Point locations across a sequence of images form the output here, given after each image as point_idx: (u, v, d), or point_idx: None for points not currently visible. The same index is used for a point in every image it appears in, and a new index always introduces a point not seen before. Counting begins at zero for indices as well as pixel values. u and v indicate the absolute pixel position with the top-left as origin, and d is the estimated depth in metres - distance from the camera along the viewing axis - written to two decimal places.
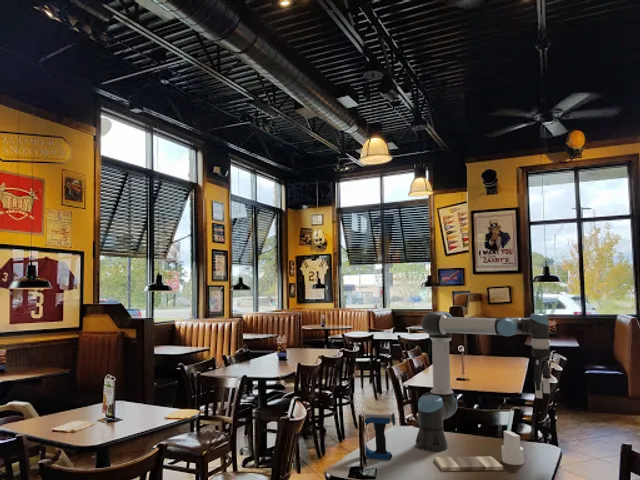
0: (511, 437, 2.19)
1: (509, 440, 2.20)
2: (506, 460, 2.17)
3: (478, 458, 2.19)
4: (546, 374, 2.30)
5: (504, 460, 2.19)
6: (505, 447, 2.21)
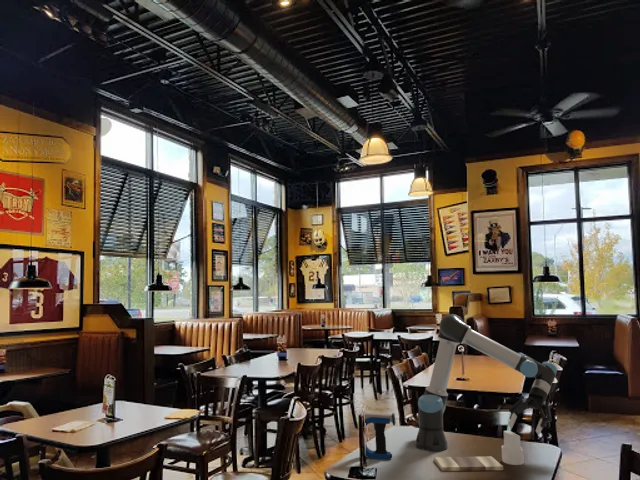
0: (511, 437, 2.19)
1: (509, 440, 2.20)
2: (506, 460, 2.17)
3: (478, 458, 2.19)
4: (519, 412, 2.35)
5: (504, 460, 2.19)
6: (505, 447, 2.21)
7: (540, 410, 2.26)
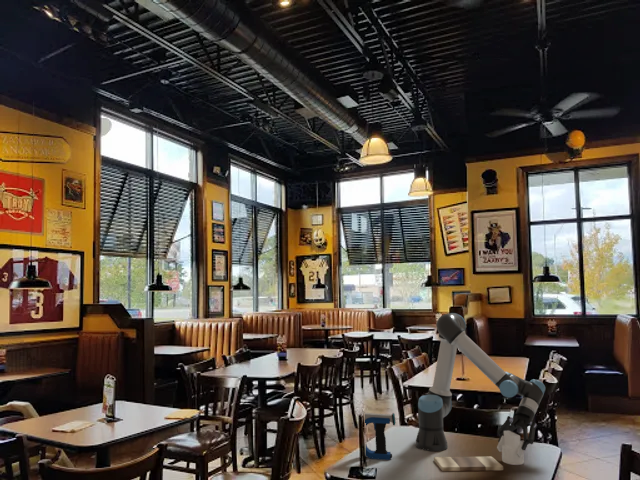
0: (511, 437, 2.19)
1: (509, 440, 2.20)
2: (507, 460, 2.18)
3: (478, 458, 2.19)
4: None
5: (504, 460, 2.19)
6: (505, 447, 2.21)
7: (524, 431, 2.21)
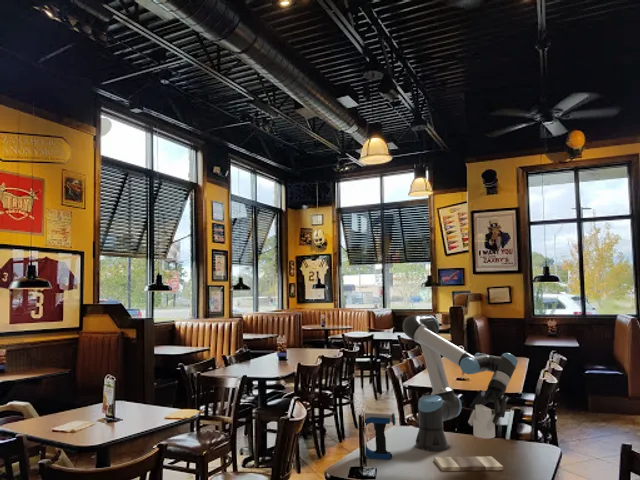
0: (483, 410, 2.15)
1: (481, 414, 2.16)
2: (478, 434, 2.14)
3: (478, 458, 2.19)
4: None
5: (475, 434, 2.15)
6: (476, 421, 2.17)
7: (495, 404, 2.17)
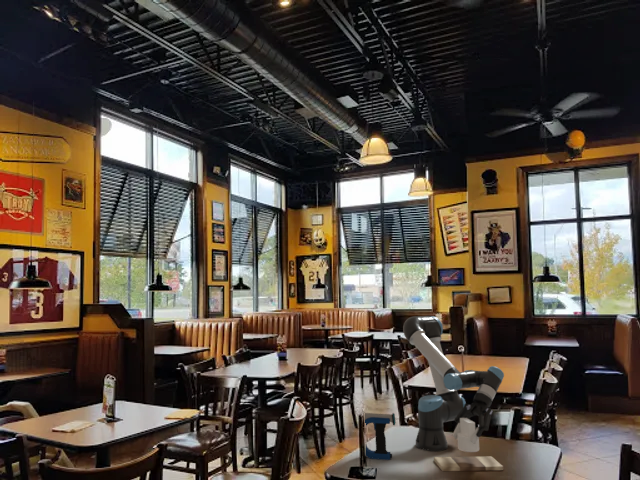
0: (466, 423, 2.14)
1: (465, 427, 2.15)
2: (461, 447, 2.13)
3: (478, 458, 2.19)
4: None
5: (459, 447, 2.14)
6: (460, 434, 2.16)
7: (479, 418, 2.16)
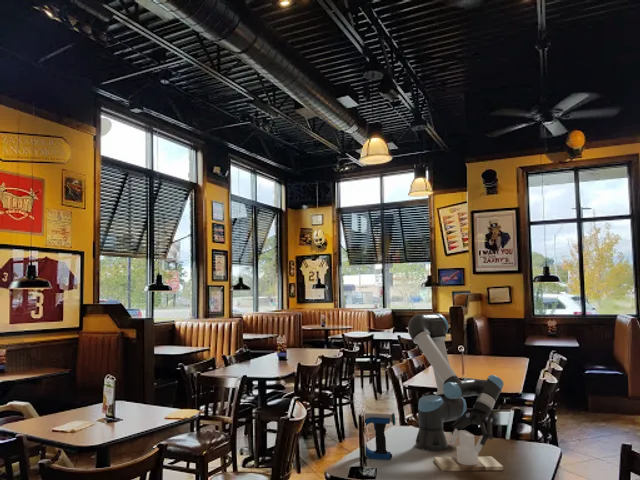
0: (466, 436, 2.14)
1: (464, 440, 2.15)
2: (461, 460, 2.13)
3: (478, 458, 2.19)
4: (462, 427, 2.24)
5: (458, 460, 2.14)
6: (460, 447, 2.16)
7: (481, 426, 2.16)
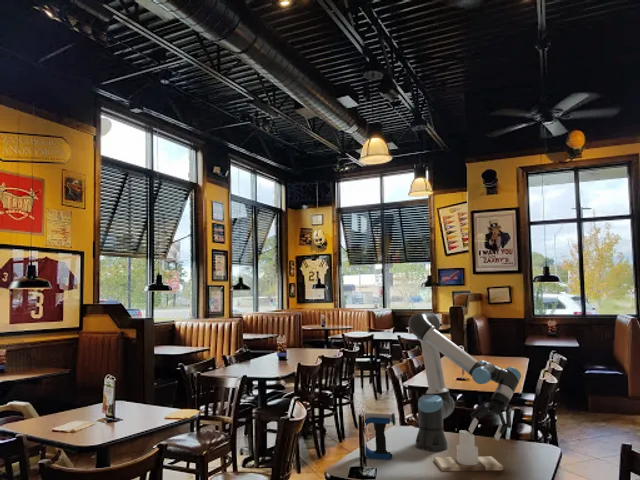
0: (466, 436, 2.14)
1: (464, 440, 2.15)
2: (461, 460, 2.13)
3: (478, 458, 2.19)
4: (480, 417, 2.31)
5: (458, 460, 2.14)
6: (460, 447, 2.16)
7: (500, 416, 2.23)
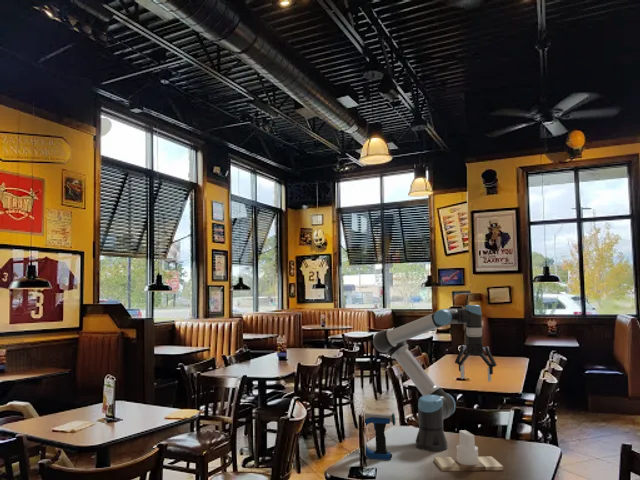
0: (466, 436, 2.14)
1: (464, 440, 2.15)
2: (461, 460, 2.13)
3: (478, 458, 2.19)
4: (464, 360, 2.50)
5: (458, 460, 2.14)
6: (460, 447, 2.16)
7: (484, 358, 2.42)
